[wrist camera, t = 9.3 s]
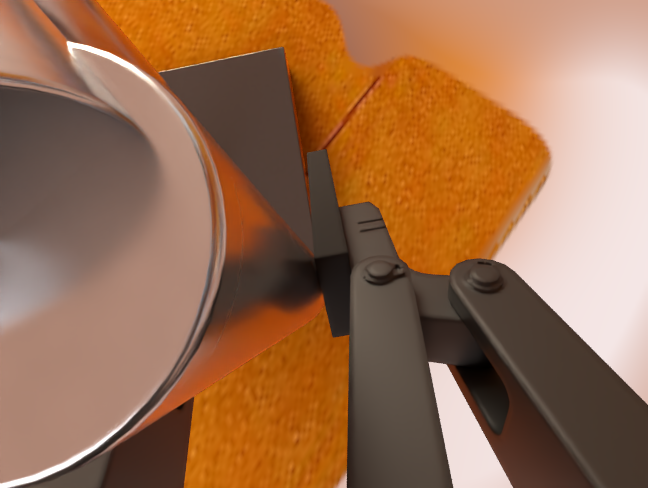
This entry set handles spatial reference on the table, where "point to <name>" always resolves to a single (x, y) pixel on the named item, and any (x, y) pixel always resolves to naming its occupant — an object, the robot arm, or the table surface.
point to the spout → (120, 246)
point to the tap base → (253, 125)
